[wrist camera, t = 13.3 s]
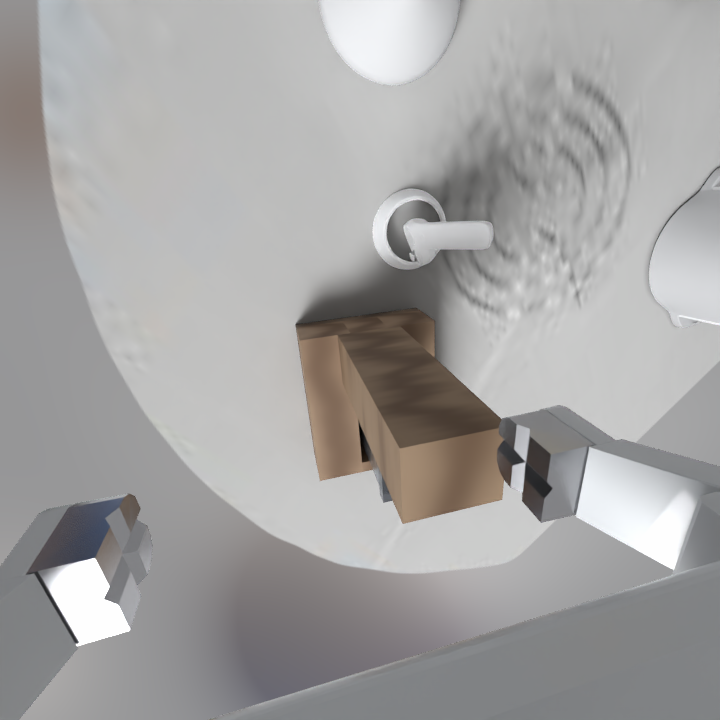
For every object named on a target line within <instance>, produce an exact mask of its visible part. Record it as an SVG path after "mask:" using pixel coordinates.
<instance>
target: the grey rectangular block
mask: <svg viewBox="0 0 720 720" xmlns="http://www.w3.org/2000/svg"><path fill="white" fill-rule="evenodd" d="M358 424H359V435H360V439H361V441H362V444H363V446H364V449H365V451H366V454H367V456H368V459H369V461H370V464H371V466H372V469H373V471H374V473H375V476H376V478H377V481H378V483H379V486H380V495H381V497H382V500H383V503H384V502H388V501H392V498H391V495H390V493H389V490H388V488H387V486H386V483H385V481H384V479H383V476H382V474H381V472H380V469H379V467H378V465H377V462H376V460H375V458H374V455H373V453H372V451H371V448H370V446H369V444H368V441H367V439H366V437H365V434H364V432H363V430H362V427H361V425H360V423H359V420H358Z"/></svg>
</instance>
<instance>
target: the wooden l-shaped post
mask: <svg viewBox="0 0 720 720" xmlns="http://www.w3.org/2000/svg"><path fill="white" fill-rule="evenodd" d="M296 331H297V338H298V344H299V351H300V358H301V365H302V371H303V378H304V385H305V392H306V399H307V405H308V412H309V419H310V426H311V432H312V439H313V446H314V453H315V458H316V463H317V468H318V473H319V478H320V481H322V480H326V479H331V478H336V477H340V476H345V475H350V474H354V473H359V472H364V471H368V470H373V469H372V466H371V464H370V461H369V459H368V456H367V454H366V451H365V449H364V446H363V444H362V441H361V439H360V435H359V424H358V420H359V423H360V425H361V427H362V430H363V432H364V434H365V437H366V439H367V441H368V444H369V446H370V448H371V451H372V453H373V455H374V458H375V460H376V462H377V465H378V467H379V469H380V472H381V474H382V476H383V479H384V481H385V483H386V486H387V488H388V490H389V493H390V495H391V498H392V500H393V502H394V505H395V507H396V509H397V512H398V514H399V516H400V519H401V521H402V523H403V524H404V523H408V522H412V521H416V520H420V519H425V518H429V517H433V516H437V515H441V514H445V513H449V512H453V511H458V510H462V509H466V508H470V507H474V506H478V505H482V504H486V503H491V502H495V501H499V500H502V495H503V484H504V479H503V477H502V475H501V473H500V471H499V467H498V464H497V449H498V447H499V446H500V444H501V443H502V441H503V438H502V437H501V436H500V435H499V424H500V422H501V420H502V419H501V418H500V417H499V416H497V415H496V414H495V413H494V412H493V411H492V410H491V409H490V408H489V407H488V406H487V405H485V404H484V403H483V402H482V401H481V400H480V399H479V398H478V397H477V396H476V395H475V394H474V393H472V392H471V391H470V390H469V389H468V388H467V387H466V386H465V385H464V384H463V383H462V382H460V381H459V380H458V379H457V378H456V377H455V376H454V375H453V374H452V373H451V372H450V371H448V370H447V369H446V368H445V367H444V366H443V365H442V364H441V363H440V362H439V361H438V360H436V359H435V321H434V320H433V319H431V318H430V317H428V316H427V315H426V314H424V313H423V312H421V311H420V310H418V309H417V308H412V309H405V310H397V311H390V312H383V313H376V314H369V315H361V316H354V317H347V318H340V319H333V320H325V321H318V322H311V323H304V324H297V325H296Z"/></svg>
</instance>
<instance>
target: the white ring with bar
mask: <svg viewBox="0 0 720 720" xmlns="http://www.w3.org/2000/svg"><path fill="white" fill-rule="evenodd" d="M412 200H421V201H425V202H427V203H429V204H431V205H432V206H433V207H434V208H435V210H436V211H437V213H438V215H439V218H440V222H427V221H426V220H425V219H420V218H414V219H411V220H409V221H408V222H407V223H406V224H405V225H404V226H403V229H404V233H405V236H406V238H407V241H408V243H409V246H410V248H411V251H412V253H413V254H412V253H410V254H409V256H410V258H411V260H412V261H413V262H410V261H405V260H403V259H401V258H399V257H398V256H396V255H395V254H394V252H393V251H392V250H391V248H390V246H389V243H388V240H387V226H388V222H389V220H390V218H391V216H392V214H393V213H394V211H395V210H396V209H397V208H398V207H399V206H401V205H402V204H404V203H406V202H408V201H412ZM372 234H373V241H374V244H375V247H376V250H377V252H378V253H379V255H380V256H381V258H382V259H383V260H384V261H385V262H386V263H388V264H389V265H391V266H393V267H395V268H398V269H403V270H411V269H416V268H419V267H421V266H423V265H425V264H428V263H430V262H431V261H432V260H433V259H434V257H435V256H436V255H437V253H438V252H439V251H440V249H456V250H484V249H487V248H488V247H489V246H490V244H491V243H492V240H493V237H494V233H493V226H492V223H491V222H488V221H452V222H446V219H445V215H444V212H443V210H442V207H441V206H440V204H439V203H438V202H437V200H436V199H435V198H434V197H433V196H432V195H430V194H429V193H427V192H425V191H423V190H419V189H404V190H400V191H398V192H396V193H394V194H392V195H391V196H389V197H388V198H387V199H386V200H385V201H384V202H383V203H382V205H381V206H380V208H379V209H378V211H377V213H376V216H375V218H374V223H373V233H372ZM415 259H416V260H417V261H415Z"/></svg>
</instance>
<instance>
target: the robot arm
mask: <svg viewBox="0 0 720 720" xmlns="http://www.w3.org/2000/svg"><path fill="white" fill-rule="evenodd" d="M649 283H650V288H651V292H652V294H653V296H654V298H655V299H656V301H657V302H658V303H659V304H660V305H661V306H663V307H664V308H665V309H666V310H667V311H668V312H669V314H670V317H671V320H672V323H673V324H674V326H676V327H681V328H688V327H690V326H693V325H696V324H698V323H701V322H707V323H711V324H716V325H720V168H718V169H716V170H715V171H714V172H713V173H712V175H711V176H710V177H709V178H708V180H707V181H706V183H705V184H704V185H703V187H702V188H701V190H700V191H699V192H698V193H697V194H696V195H695V196H694V197H693V198H691V199H690V200H689V201H688V202H686V203H685V204H684V205H683V206H682V207H681V208H680V209H679V210H678V211H677V212H676V213H675V214H674V215H673V216H672V218H671V219H670V220H669V221H668V223H667V224H666V226H665V227H664V229H663V231H662V232H661V234H660V236H659V238H658V240H657V242H656V245H655V247H654V250H653V253H652V257H651V261H650V267H649ZM499 435H500V436H501V437H502V438H503V441H502V443H501V444H500V446H499V447H498V449H497V464H498V467H499V471H500V473H501V475H502V477H503V479H504V480H505V482H506V483H507V484H508V485H509V486H510V488H512V489H515V490H517V491H519V492H521V493H522V502H523V503H524V504H525V505H526V506H527V507H528V508H529V510H530V511H531V512H532V513H533V514H534V515H535V516H536V518H537V519H538V520H539V521H540V522H541V523H542V522H546V521H551V520H555V519H559V518H564V517H568V516H572V515H576V517H577V518H579V519H581V520H583V521H585V522H587V523H588V524H590V525H592V526H594V527H596V528H598V529H599V530H601V531H603V532H605V533H607V534H608V535H610V536H612V537H614V538H616V539H618V540H619V541H621V542H623V543H625V544H627V545H629V546H631V547H632V548H634V549H636V550H638V551H640V552H641V553H643V554H645V555H647V556H649V557H651V558H653V559H654V560H656V561H658V562H660V563H662V564H664V565H665V566H667V567H669V568H671V569H673V570H674V571H673V574H672V575H671V576H668V577H665V578H662V579H658V580H655V581H652V582H649V583H646V584H642V585H639V586H636V587H633V588H630V589H626V590H623V591H620V592H617V593H613V594H611V595H607V596H604V597H601V598H598V599H594V600H591V601H588V602H585V603H581V604H579V605H575V606H572V607H569V608H565V609H562V610H559V611H556V612H553V613H549V614H546V615H543V616H540V617H537V618H534V619H530V620H527V621H524V622H521V623H518V624H515V625H511V626H508V627H505V628H502V629H499V630H496V631H492V632H489V633H486V634H483V635H479V636H476V637H473V638H470V639H466V640H463V641H460V642H457V643H454V644H450V645H447V646H444V647H441V648H438V649H435V650H431V651H428V652H425V653H421V654H418V655H415V656H412V657H409V658H406V659H402V660H399V661H396V662H392V663H389V664H386V665H383V666H380V667H377V668H373V669H370V670H367V671H363V672H360V673H357V674H354V675H351V676H347V677H344V678H341V679H338V680H335V681H331V682H328V683H325V684H321V685H318V686H315V687H312V688H309V689H306V690H302V691H299V692H296V693H293V694H289V695H286V696H283V697H279V698H276V699H273V700H270V701H267V702H263V703H260V704H257V705H254V706H251V707H247V708H244V709H241V710H238V711H235V712H232V713H228V714H225V715H222V716H218V717H215V718H212V719H209V720H720V466H717V465H713V464H709V463H706V462H702V461H699V460H695V459H691V458H688V457H684V456H681V455H677V454H673V453H669V452H666V451H663V450H659V449H655V448H652V447H648V446H644V445H641V444H637V443H634V442H630V441H627V440H623V439H621V440H615V439H613V438H612V437H610V436H609V435H607V434H606V433H604V432H603V431H601V430H600V429H598V428H597V427H595V426H594V425H592V424H591V423H589V422H588V421H586V420H585V419H583V418H582V417H580V416H579V415H577V414H576V413H574V412H573V411H571V410H570V409H568V408H567V407H565V406H560V405H558V406H554V407H549V408H545V409H541V410H540V411H535V412H530V413H525V414H521V415H516V416H511V417H506V418H502V420H501V422H500V424H499ZM139 511H140V506H139V504H138V502H137V500H136V498H135V496H133V495H131V494H125V495H119V496H113V497H108V498H102V499H97V500H91V501H86V502H80V503H75V504H70V505H65V506H60V507H55V508H50V509H46V510H44V511H43V512H41V513H39V514H38V515H37V517H36V518H35V519H34V521H33V522H32V523H31V525H30V526H29V528H28V529H27V530H26V532H25V533H24V534H23V536H22V537H21V539H20V540H19V541H18V543H17V544H16V545H15V547H14V548H13V550H12V551H11V552H10V554H9V555H8V556H7V558H6V559H5V561H4V562H3V563H2V565H1V566H0V720H19V719H20V718H21V716H22V715H23V714H24V713H25V712H26V710H27V709H28V708H29V707H30V706H31V705H32V703H33V702H34V701H35V700H36V699H37V697H38V696H39V695H40V694H41V693H42V691H43V690H44V689H45V688H46V686H47V685H48V684H49V683H50V682H51V680H52V679H53V678H54V677H55V676H56V674H57V673H58V672H59V671H60V670H61V668H62V667H63V666H64V665H65V663H66V662H67V661H68V660H69V659H70V657H71V656H72V655H73V654H74V652H75V651H76V650H77V649H78V647H77V646H78V645H81V644H85V643H87V642H91V641H95V640H98V639H101V638H105V637H108V636H112V635H115V634H119V633H122V632H126V631H129V630H130V629H131V626H132V623H133V620H134V617H135V613H136V610H137V607H138V604H139V601H140V598H141V594H140V592H139V589H138V587H137V585H138V584H139V583H140V582H141V581H142V580H143V579H144V578H145V577H146V576H147V575H148V572H149V568H150V565H151V561H152V540H151V535H150V532H149V529H148V526H147V525H146V524H144V523H142V522H140V521H138V520H137V516H138V514H139Z"/></svg>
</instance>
